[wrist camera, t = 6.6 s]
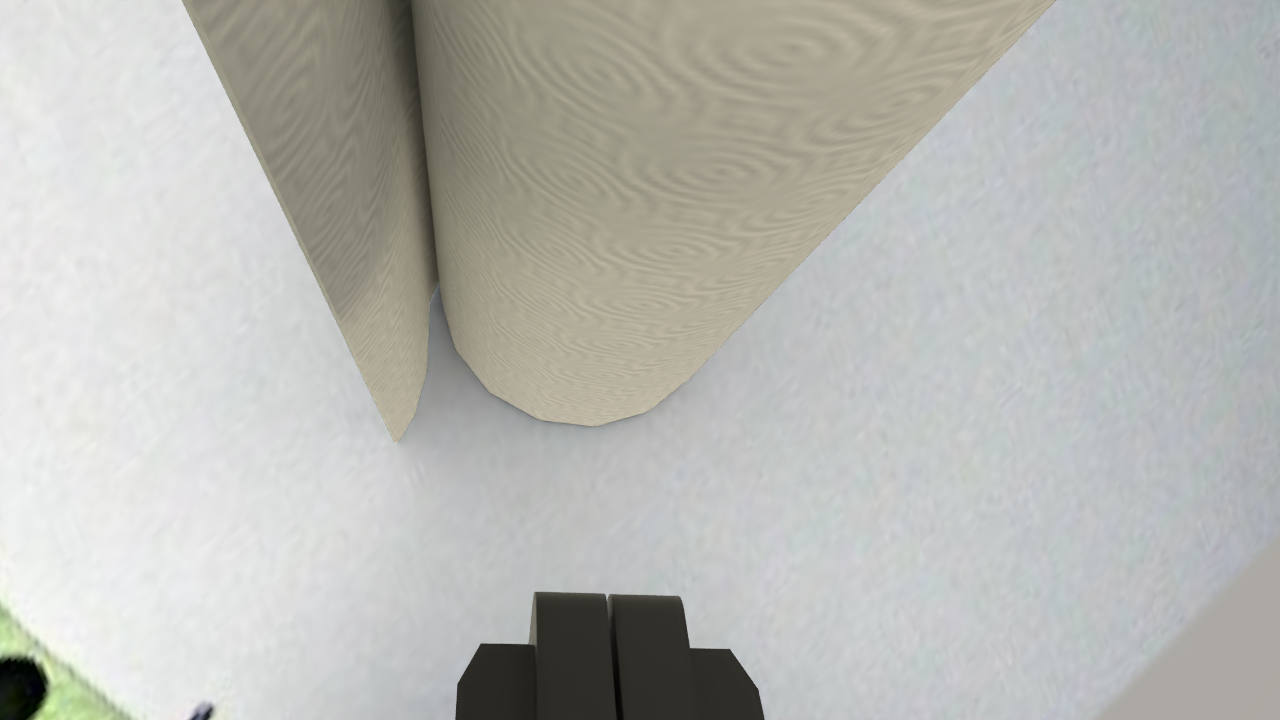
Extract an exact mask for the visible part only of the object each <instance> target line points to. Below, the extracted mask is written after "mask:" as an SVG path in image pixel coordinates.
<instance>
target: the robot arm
mask: <svg viewBox="0 0 1280 720" xmlns="http://www.w3.org/2000/svg"><path fill="white" fill-rule="evenodd" d="M455 720H765V719H764V714H763V710H762V705H761V700H760V696H759V691H758V688H757V687H756V685H755V684H754V683H753V681H752V680H751V678H750V677H749V676H748V674H747V673H746V671H745V670H744V668H743V667H742V666H741V664H740V663H739V661H738V660H737V659H736V657H735V656H734V654H733V653H732V651H731V650H730V649H700V648H690V645H689V639H688V633H687V626H686V620H685V613H684V608H683V603H682V600H681V598H680V597H679V596H656V595H620V594H610V595H609V597H608V600H606V596H605V594H596V593H559V592H535V593H534V598H533V606H532V616H531V627H530V637H529V644H483V643H481V644H480V646H479V648H478V650H477V651H476V653H475V655H474V656H473V658H472V660H471V662H470V663H469V665H468V667H467V668H466V670H465V672H464V674H463V675H462V677H461V679H460V680H459V682H458V685H457V702H456V719H455Z"/></svg>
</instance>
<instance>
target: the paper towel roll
mask: <svg viewBox="0 0 1280 720" xmlns="http://www.w3.org/2000/svg"><path fill="white" fill-rule="evenodd" d="M1055 1H1056V0H182V2H183V4H184V6H185V8H186V10H187V12H188V14H189V16H190V18H191V20H192V22H193V24H194V26H195V29H196V31H197V33H198V35H199V37H200V39H201V41H202V43H203V45H204V47H205V49H206V51H207V54H208V56H209V58H210V60H211V62H212V64H213V66H214V68H215V70H216V72H217V74H218V76H219V78H220V81H221V83H222V85H223V87H224V89H225V91H226V93H227V95H228V97H229V99H230V101H231V103H232V106H233V108H234V110H235V112H236V114H237V116H238V118H239V120H240V122H241V124H242V126H243V128H244V131H245V133H246V135H247V137H248V139H249V141H250V143H251V145H252V147H253V149H254V151H255V153H256V155H257V158H258V160H259V162H260V164H261V166H262V168H263V170H264V172H265V174H266V176H267V178H268V180H269V183H270V185H271V187H272V189H273V191H274V193H275V195H276V197H277V199H278V201H279V203H280V205H281V207H282V210H283V212H284V214H285V216H286V218H287V220H288V222H289V224H290V226H291V228H292V230H293V232H294V235H295V237H296V239H297V241H298V243H299V245H300V247H301V249H302V251H303V253H304V255H305V257H306V259H307V262H308V264H309V266H310V268H311V270H312V272H313V274H314V276H315V278H316V280H317V282H318V284H319V287H320V289H321V291H322V293H323V295H324V297H325V299H326V301H327V303H328V305H329V307H330V309H331V311H332V314H333V316H334V318H335V320H336V322H337V324H338V326H339V328H340V330H341V332H342V334H343V336H344V339H345V341H346V343H347V345H348V347H349V349H350V351H351V353H352V355H353V357H354V359H355V361H356V364H357V366H358V368H359V370H360V372H361V374H362V376H363V378H364V380H365V382H366V384H367V386H368V388H369V391H370V393H371V395H372V397H373V399H374V401H375V403H376V405H377V407H378V409H379V411H380V413H381V416H382V418H383V420H384V422H385V424H386V426H387V428H388V430H389V432H390V434H391V436H392V438H393V440H394V442H396V443H398V441H399V440H400V438H401V436H402V435H403V433H404V432H405V430H406V429H407V427H408V426H409V424H410V422H411V421H412V419H413V418H414V416H415V412H416V408H417V405H418V401H419V398H420V394H421V391H422V387H423V383H424V380H425V376H426V373H427V360H428V335H429V310H430V301H431V299H432V296H433V294H434V292H435V289H436V287H437V285H438V282H439V286H440V296H441V300H442V303H443V307H444V311H445V314H446V318H447V321H448V325H449V329H450V332H451V336H452V339H453V343H454V346H455V349H456V351H457V352H458V353H459V354H460V356H461V357H462V358H463V359H464V361H465V362H466V363H467V364H468V366H469V367H470V368H471V369H472V371H473V372H474V373H475V375H476V376H477V377H478V378H479V380H480V381H481V382H482V383H483V385H484V386H485V387H486V388H487V390H488V391H489V392H490V393H491V394H493V395H495V396H497V397H499V398H501V399H502V400H504V401H506V402H508V403H510V404H511V405H513V406H515V407H517V408H519V409H520V410H522V411H524V412H526V413H528V414H529V415H531V416H533V417H535V418H537V419H538V420H544V421H552V422H561V423H569V424H577V425H586V426H594V427H595V426H599V425H602V424H606V423H609V422H613V421H617V420H620V419H624V418H627V417H631V416H634V415H638V414H641V413H645V412H648V411H649V410H651V409H652V408H653V407H654V406H656V405H657V404H658V403H659V402H661V401H662V400H663V399H664V398H666V397H667V396H668V395H669V394H671V393H672V392H673V391H674V390H676V389H677V388H678V387H679V386H681V385H682V384H683V383H684V382H686V381H687V380H688V379H689V378H690V377H691V376H692V375H693V374H694V373H695V372H696V371H697V370H698V369H699V368H700V367H701V366H702V365H703V364H704V363H705V362H706V361H707V360H708V359H709V358H710V357H711V356H712V355H713V354H714V353H715V352H716V351H717V350H718V349H719V348H720V347H721V345H722V344H723V343H724V342H725V341H726V340H727V339H728V338H729V337H730V336H731V335H732V334H733V333H734V332H735V331H736V330H737V329H738V328H739V327H740V326H741V325H742V324H743V323H744V322H745V321H746V320H747V319H748V318H749V317H750V316H751V315H752V314H753V312H754V311H755V310H756V309H757V308H758V307H759V306H760V305H761V304H762V303H763V302H764V301H765V300H766V299H767V298H768V297H769V296H770V295H771V294H772V293H773V292H774V291H775V290H776V289H777V288H778V287H779V286H780V285H781V284H782V283H783V282H784V281H785V279H786V278H787V277H788V276H789V275H790V274H791V273H792V272H793V271H794V270H795V269H796V268H797V267H798V266H799V265H800V264H801V263H802V262H803V261H804V260H805V259H806V258H807V257H808V256H809V255H810V254H811V253H812V252H813V251H814V250H815V249H816V248H817V246H818V245H819V244H820V243H821V242H822V241H823V240H824V239H825V238H826V237H827V236H828V235H829V234H830V233H831V232H832V231H833V230H834V229H835V228H836V227H837V226H838V225H839V224H840V223H841V222H842V221H843V220H844V219H845V218H846V217H847V216H848V215H849V213H850V212H851V211H852V210H853V209H854V208H855V207H856V206H857V205H858V204H859V203H860V202H861V201H862V200H863V199H864V198H865V197H866V196H867V195H868V194H869V193H870V192H871V191H872V190H873V189H874V188H875V187H876V186H877V185H878V184H879V183H880V182H881V180H882V179H883V178H884V177H885V176H886V175H887V174H888V173H889V172H890V171H891V170H892V169H893V168H894V167H895V166H896V165H897V164H898V163H899V162H900V161H901V160H902V159H903V158H904V157H905V156H906V155H907V154H908V153H909V152H910V151H911V150H912V148H913V147H914V146H915V145H916V144H917V143H918V142H919V141H920V140H921V139H922V138H923V137H924V136H925V135H926V134H927V133H928V132H929V131H930V130H931V129H932V128H933V127H934V126H935V125H936V124H937V123H938V122H939V121H940V120H941V119H942V118H943V117H944V115H945V114H946V113H947V112H948V111H949V110H950V109H951V108H952V107H953V106H954V105H955V104H956V103H957V102H958V101H959V100H960V99H961V98H962V97H963V96H964V95H965V94H966V93H967V92H968V91H969V90H970V89H971V88H972V87H973V86H974V85H975V84H976V82H977V81H978V80H979V79H980V78H981V77H982V76H983V75H984V74H985V73H986V72H987V71H988V70H989V69H990V68H991V67H992V66H993V65H994V64H995V63H996V62H997V61H998V60H999V59H1000V58H1001V57H1002V56H1003V55H1004V54H1005V53H1006V52H1007V51H1008V49H1009V48H1010V47H1011V46H1012V45H1013V44H1014V43H1015V42H1016V41H1017V40H1018V39H1019V38H1020V37H1021V36H1022V35H1023V34H1024V33H1025V32H1026V31H1027V30H1028V29H1029V28H1030V27H1031V26H1032V25H1033V24H1034V23H1035V22H1036V21H1037V20H1038V19H1039V18H1040V16H1041V15H1042V14H1043V13H1044V12H1045V11H1046V10H1047V9H1048V8H1049V7H1050V6H1051V5H1052V4H1053V3H1054V2H1055Z"/></svg>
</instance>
